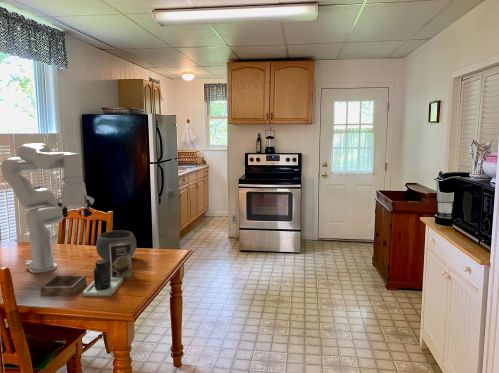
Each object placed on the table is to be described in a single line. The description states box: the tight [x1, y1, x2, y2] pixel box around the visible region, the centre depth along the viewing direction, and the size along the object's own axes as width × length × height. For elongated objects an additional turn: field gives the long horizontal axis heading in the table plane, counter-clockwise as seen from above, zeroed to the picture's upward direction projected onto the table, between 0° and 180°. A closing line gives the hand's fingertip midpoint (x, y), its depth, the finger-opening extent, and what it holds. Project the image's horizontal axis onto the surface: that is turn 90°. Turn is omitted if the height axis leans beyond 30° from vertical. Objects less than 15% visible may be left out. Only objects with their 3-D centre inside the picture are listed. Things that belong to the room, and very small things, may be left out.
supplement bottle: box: [93, 259, 112, 290], centre depth 170 cm, size 7×7×12 cm
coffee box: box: [109, 241, 133, 279], centre depth 185 cm, size 9×6×16 cm
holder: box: [39, 274, 87, 297], centre depth 170 cm, size 14×14×4 cm
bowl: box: [95, 230, 138, 264], centre depth 205 cm, size 20×20×15 cm
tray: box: [81, 277, 124, 297], centre depth 171 cm, size 12×16×2 cm
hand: (76, 216), depth 177 cm, fingers open, 9 cm apart
